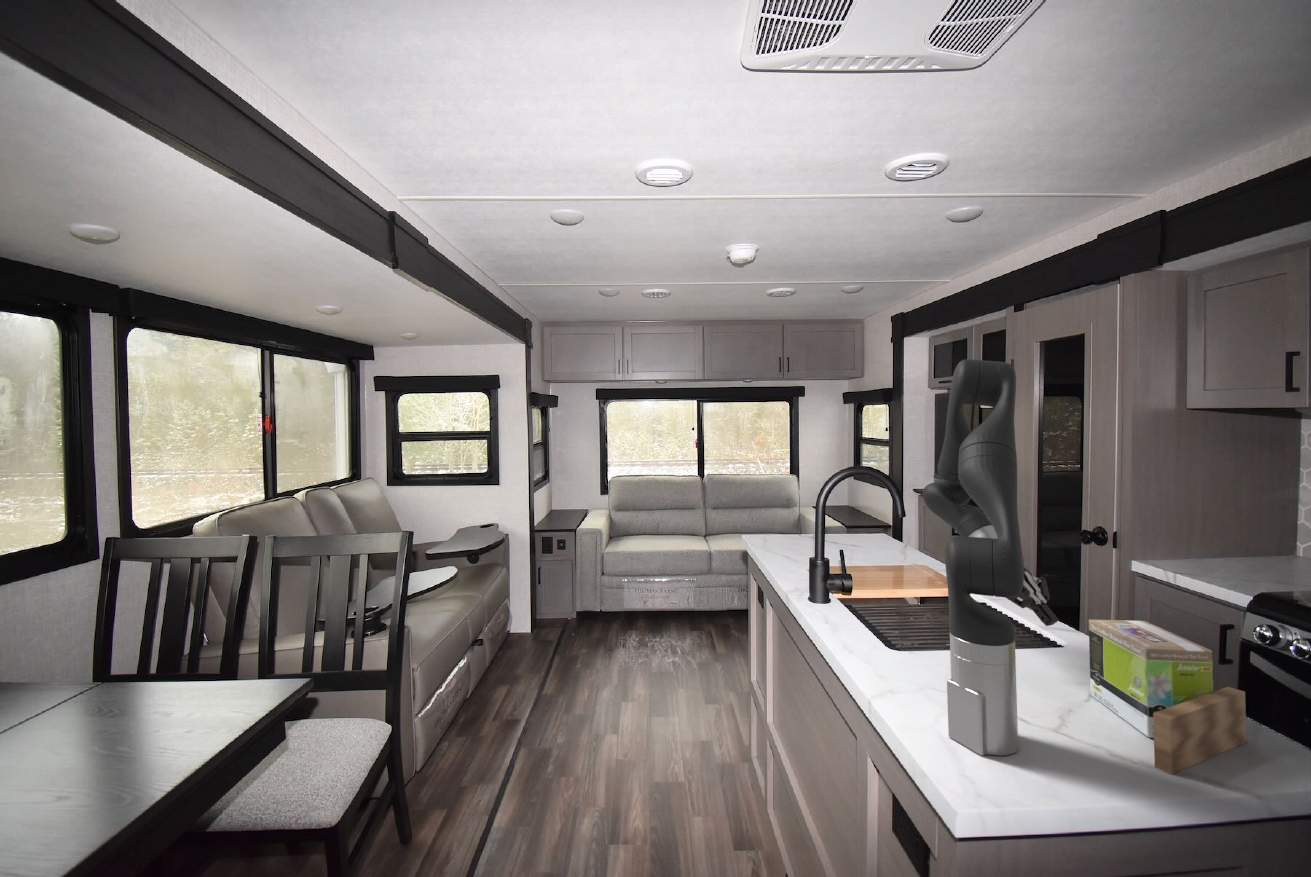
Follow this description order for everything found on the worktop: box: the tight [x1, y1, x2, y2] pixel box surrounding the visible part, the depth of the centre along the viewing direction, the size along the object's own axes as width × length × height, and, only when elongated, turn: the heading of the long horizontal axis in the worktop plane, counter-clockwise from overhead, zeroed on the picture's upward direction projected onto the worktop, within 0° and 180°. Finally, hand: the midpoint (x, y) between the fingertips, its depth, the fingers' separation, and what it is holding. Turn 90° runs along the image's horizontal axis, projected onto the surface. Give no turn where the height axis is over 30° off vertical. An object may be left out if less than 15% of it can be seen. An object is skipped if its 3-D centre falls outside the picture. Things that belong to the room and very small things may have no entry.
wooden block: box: [1153, 686, 1248, 775], centre depth 83 cm, size 20×2×8 cm, turn 111°
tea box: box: [1088, 619, 1214, 739], centre depth 94 cm, size 15×10×15 cm
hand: (1052, 623), depth 108 cm, fingers closed
